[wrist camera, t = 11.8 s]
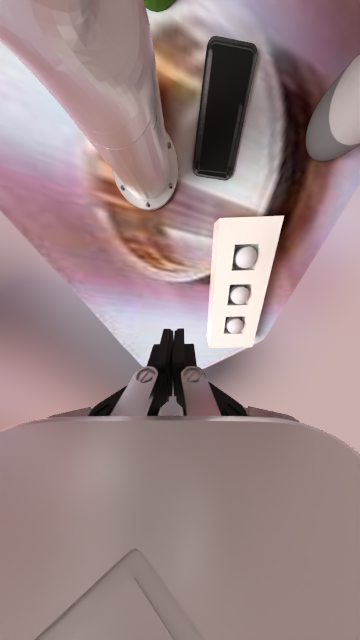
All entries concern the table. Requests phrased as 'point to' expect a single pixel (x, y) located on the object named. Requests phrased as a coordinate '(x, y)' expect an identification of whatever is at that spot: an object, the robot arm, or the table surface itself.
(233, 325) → the knob
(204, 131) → the phone
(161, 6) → the wine bottle
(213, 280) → the console
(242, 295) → the knob mid
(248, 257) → the knob
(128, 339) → the table surface
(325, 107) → the smart speaker
